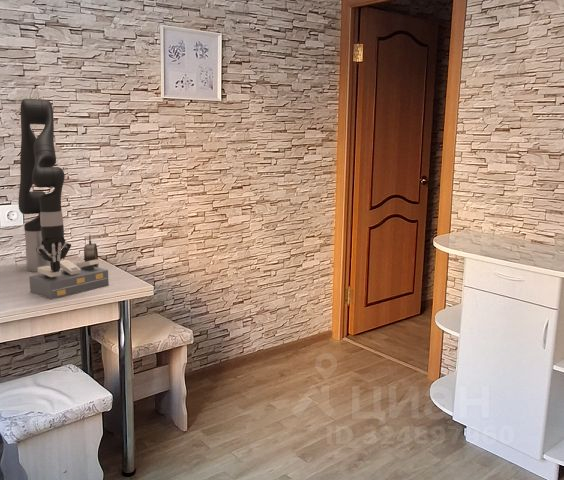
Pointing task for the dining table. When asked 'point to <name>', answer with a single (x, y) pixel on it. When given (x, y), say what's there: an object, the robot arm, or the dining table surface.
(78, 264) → the rocker
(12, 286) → the dining table surface
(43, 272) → the rocker
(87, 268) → the switch unit
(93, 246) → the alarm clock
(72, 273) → the rocker
